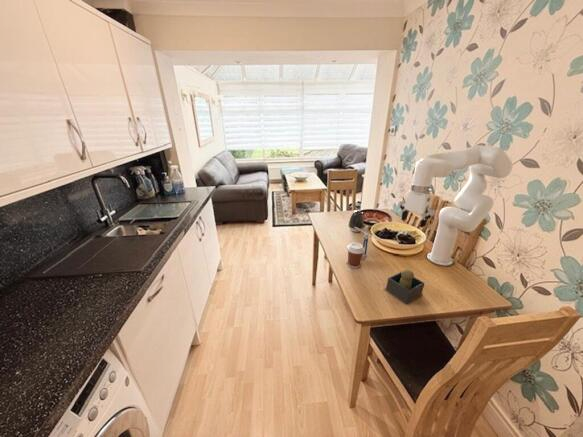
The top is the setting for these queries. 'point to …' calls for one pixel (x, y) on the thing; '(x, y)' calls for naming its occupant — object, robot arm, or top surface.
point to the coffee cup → (355, 254)
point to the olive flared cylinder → (406, 278)
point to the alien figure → (366, 239)
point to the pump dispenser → (356, 221)
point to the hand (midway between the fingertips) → (412, 222)
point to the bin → (401, 291)
